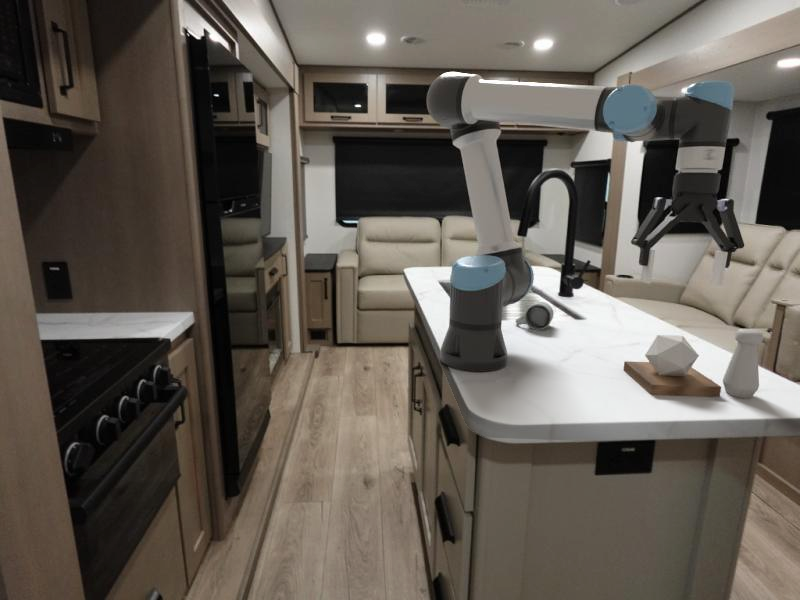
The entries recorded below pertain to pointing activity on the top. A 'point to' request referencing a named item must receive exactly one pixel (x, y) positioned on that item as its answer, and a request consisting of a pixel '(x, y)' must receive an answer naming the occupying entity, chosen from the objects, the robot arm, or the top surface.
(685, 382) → the walnut board
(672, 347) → the die
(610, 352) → the top surface
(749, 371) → the salt shaker
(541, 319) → the ceramic mug
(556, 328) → the top surface
